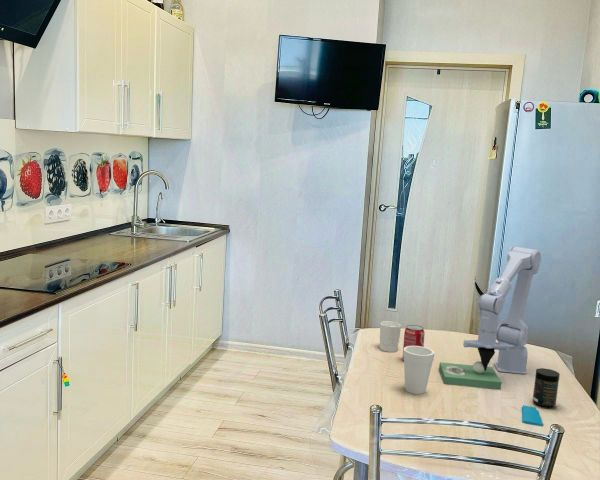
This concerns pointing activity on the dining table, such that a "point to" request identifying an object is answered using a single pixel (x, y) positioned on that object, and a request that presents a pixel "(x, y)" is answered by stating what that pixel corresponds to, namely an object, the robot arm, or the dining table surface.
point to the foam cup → (417, 368)
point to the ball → (478, 367)
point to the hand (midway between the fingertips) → (483, 369)
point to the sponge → (531, 416)
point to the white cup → (389, 336)
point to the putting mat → (469, 376)
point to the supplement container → (545, 388)
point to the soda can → (413, 336)
